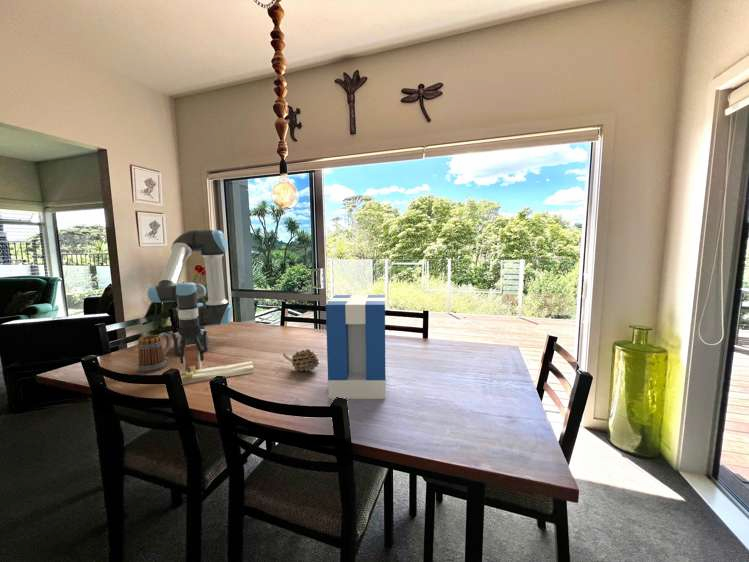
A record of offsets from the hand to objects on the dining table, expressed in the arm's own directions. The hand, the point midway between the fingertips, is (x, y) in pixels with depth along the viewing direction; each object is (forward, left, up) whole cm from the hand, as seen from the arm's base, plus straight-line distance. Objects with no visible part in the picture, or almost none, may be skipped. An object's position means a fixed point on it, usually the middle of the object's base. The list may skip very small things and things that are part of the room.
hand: (193, 368), depth 139 cm
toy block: (+44, +63, -2) cm, 76 cm away
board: (+7, +10, -2) cm, 12 cm away
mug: (-15, -16, -2) cm, 23 cm away
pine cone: (+17, +44, -2) cm, 47 cm away
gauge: (+5, 0, -1) cm, 5 cm away
